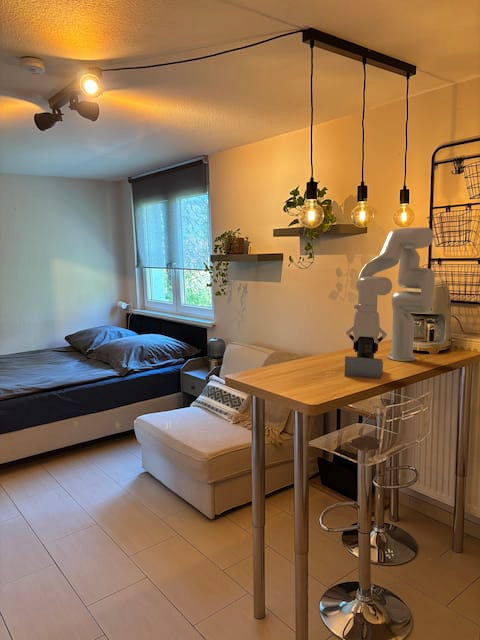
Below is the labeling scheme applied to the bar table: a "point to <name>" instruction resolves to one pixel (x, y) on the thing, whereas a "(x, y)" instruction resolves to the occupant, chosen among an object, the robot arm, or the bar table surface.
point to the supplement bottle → (365, 347)
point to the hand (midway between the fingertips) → (365, 351)
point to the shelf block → (363, 367)
